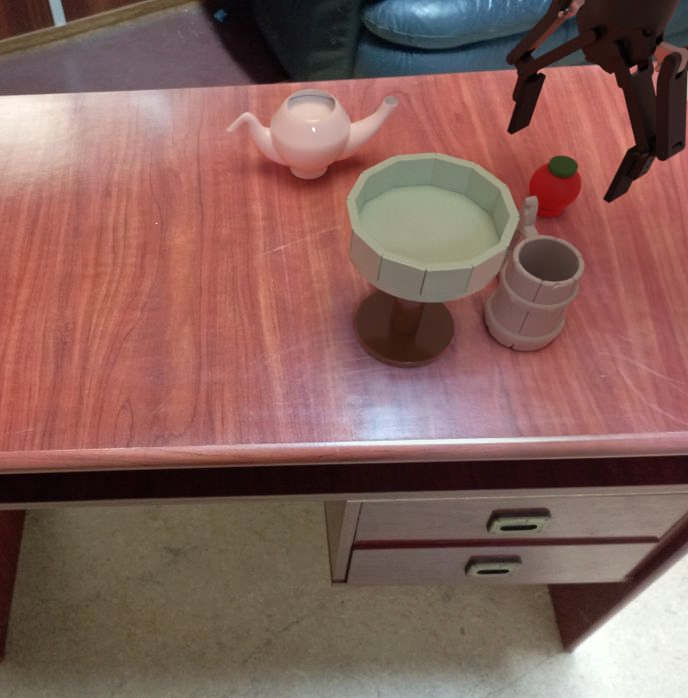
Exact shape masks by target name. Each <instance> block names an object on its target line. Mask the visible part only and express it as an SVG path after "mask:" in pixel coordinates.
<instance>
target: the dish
mask: <svg viewBox="0 0 688 698" xmlns="http://www.w3.org/2000/svg"><path fill="white" fill-rule="evenodd" d="M518 211H519V210H518V209H517V205H516V203H515V201H514V199H513V196H512V194H511V191H510V189H509V187H508V185H507V184H505V183H504V182H503V181H502V180H500V179H499V178H497V177H496V176H495V175H493V174H492V173H491V172H489V171H488V170H487V169H485V167H483V166H482V165H480V164H479V163H476V162H475V161H471V160H468V159H464V158H459V157H456V156H452V155H449V154H445V153H440V152H435V151H433V152H420V153H418V152H417V153H408V154H407V153H406V154H396V155H395V156H394V155H393V156H390V157H388V158H386V159H385V160H383V161H381V162H379V163H377V164H374V165H373V166H371V167H369V168H367V169H365V170H363V171H362V172H361V173H360V174H359V176H358V177H357V179H356V181H355V182H354V184H353V186H352V188H351V190H350V191H349V193H348V195H347V196H346V199H345V206H344V215H343V217H344V218H343V225H342V227H343V231H344V248H345V251H346V255H347V257H348V260H349V261H350V263H351V265H352V266H353V268H354V269H355V271H356V272H357V273H358V274H359V275H360V276H361V277H362V278H363V279H364V280H365V281H366V282H368V284H371V285H372V286H373V287H375V288H377V290H375V291H374V292H372V293H371V294H369V295H368V296H366V297H365V299H364V300H363V301H362V302H361V303H360V304H359V306H358V308H357V310H356V313H355V319H354V332H355V336H356V339H357V341H358V343H359V344H360V346H361V347H362V348H363V350H364V351H365V352H366V353H367V354H368V355H369V356H371V357H372V358H373V359H375V360H376V361H378V362H380V363H382V364H384V365H387V366H391V367H395V368H400V369H401V368H402V369H414V368H422V367H425V366H428V365H430V364H432V363H435V362H436V361H438V360H440V358H442V356H444V355H445V354H446V352H447V351H448V350H449V348H450V346H451V344H452V342H453V341H452V340H453V337H454V333H455V323H454V319H453V316H452V314H451V312H450V310H449V308H448V307H447V306H446V305H445V302H453V301H456V300H460V299H464V298H466V297H469V296H472V295H473V294H475V293H477V292H479V291H481V290H483V288H485V287H487V286H488V285H489V284H490V283H491V282H492V281H493V280H494V279H495V278H496V276H497V275H498V273H500V272H499V271H500V268H501V266H502V264H503V261H504V258H505V256H506V253H507V251H508V248H509V246H510V243H511V240H512V238H513V235H514V232H515V230H516V227H517V224H518V222H519V219H520V218H519V217H520V216H519V213H518Z"/></svg>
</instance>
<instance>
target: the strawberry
mask: <svg viewBox="0 0 688 698" xmlns="http://www.w3.org/2000/svg"><path fill="white" fill-rule="evenodd" d="M578 169H579V164H578V162H577V161H576V159H574V158H572V157H571V156H567V155H555V156H553V157H551V158H550V159H549V161H548V162H547V163H545V164H542V165H541V166H539V167H538V168H537V169H536V170H535V171H534V172H533V174H532V175H531V177H530V180H529V183H528V192H529V193H528V194H529V197H531V196H536V197H537V199H538V211H537V215H538V216H539V217H543V218H555V217H558V216H559V215H561V213H562V212H563V210H564V209H565V208H567V207H569V206H571V204H572V203H574V202H575V201H576V199H577V198H578V197H579V195H580V192H581V190H582V177H581V174H580V173H579V171H578Z"/></svg>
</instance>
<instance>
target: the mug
mask: <svg viewBox="0 0 688 698" xmlns="http://www.w3.org/2000/svg"><path fill="white" fill-rule="evenodd" d="M517 211H518V213H519V216H520V217H519V218H520V219H519V222H518V224H517V227H516V230H515V232H514V235H513V238H512V240H511V243H510V246H509V248H508V251H507V253H506V256H505V258H504V261H503V264H502V266H501V268H500V271H499V272H498V273H499V282H498V284H497V287H496V289H494V290H493V291H492V293H491V294H490V295H489V297H488V298H487V299H486V302H485V306H484V315H485V316H484V320H485V326H487V328H488V333H489V334H490V335H491V336H492V337H493V338H494V339H495V340H496V341H497V342H498V343H499V344H501V345H503V346H505V347H507V348H510V347H512V350H516V351H521V352H528V351H529V352H531V351H532V352H533V351H537V350H540V349H543V348H545V347H546V346H548V345H549V344H550V343H551V342H552V341H554V340H555V339H556V338H557V337H558V336H559V335H560V334H561V332H562V330H563V329H564V328H565V325H566V322H565V321H566V311H567V309H568V308H569V307H570V306H571V305H572V304H573V302H574V301H575V299H576V298H577V297H578V295H579V290H580V285H579V283H580V280H581V279H582V277H583V274H584V272H585V266H586V265H585V261H584V258H583V255H582V253H581V251H579V249H578V248H577V247H576V246H574V245H573V244H572V243H570V242H569V241H567V240H565V239H562V238H560V237H555V236H553V235H550V234H549V235H546V234H541V235H540V234H539V231H538V229H537V228H536V220H537V215H538V214H537V211H538V199H537V197H536V196H527V197H525V198H524V200H523V203H522V205H521V207H520V209H518V210H517ZM521 237H522V238H523V240H521V241H520V239H521Z"/></svg>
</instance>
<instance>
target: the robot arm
mask: <svg viewBox="0 0 688 698" xmlns="http://www.w3.org/2000/svg"><path fill="white" fill-rule="evenodd" d="M680 2H681V0H551V2H550V4H549V7H548V9H547V11H546V12H545V14H543V16H542V17H541V18H540V19H539V20H538V22H536V24H535V25H533V27H532V28H531V29H530V30H529V31H528V32H527V33H526V34H525V35H524V37H522V39H520V41H518V43H517V44H516V45H515V46H514V47H513V48H512V49H511V50H510V52H508V54H506V56H505V61H506V64H508V65H509V66H514V67H515V69H516V75H517V79H516V82H515V85H514V88H513V92H512V94H511V95H512V96H511V97H512V99H511V100H512V101H513V102H515V104H514V108H513V111H512V113H511V116H510V120H509V123H508V126H507V129H506V132H507V134H510V135H511V136H512V135H514V134H516V133H518V132H520V131H523V130H524V129H525V128H528V127H529V126H530V124H531V121H532V119H533V116H534V112H535V110H536V107H537V104H538V101H539V98H540V95H541V92H542V89H543V86H544V83H545V80H546V77H547V75H546V74H545V73H543V72H541V70H543V69H544V68H546V67H548V66H550V65H552V64H554V63H556V62H559V61H561V60H562V59H565V58H566V57H568V56H570V55H572V54H574V53H576V52H578V51H580V50H581V51H582V53H583V55H584V60H585V61H587V62H589V63H590V64H594V65H597V66H599V68H600V69H602V71H604V72H606V73H607V74H609V75H612V74H614V78H615V81H616V86H617V88H619V89H621V90H622V93H623V97H624V101H625V107H626V110H627V114H628V119H629V123H630V127H631V131H632V135H633V140H634V143H635V145H633V146H632V147H630V148H628V149H627V150H626V152H625V154H624V155H623V158H622V161H621V162H620V164H619V166H618V168H617V170H616V172H615V174H614V176H613V178H612V180H611V182H610V185H609V186H608V188H607V190H606V191H605V195H604V196H603V198H602V200H603V201H604V202H606V203H607V204H610V203H612V202H614V201H615V200H617V199H618V198H620V197H622V196H624V195H625V194H627V193H628V191H629V190H630V188H631V186H632V184H633V182H635V181H637V180H639V179H641V178H642V177H643V176H645V175H646V174H648V173H649V170H650V169H651V167H652V165H653V163H654V161H655V159H657V160H658V161H659V162H665V161H667V160H669V159H671V158H672V157H674V156H676V155H678V154H679V153H681V152H683V151H684V150H685V149H686V145H687V144H686V143H687V109H688V107H687V106H688V105H687V104H688V44H685V45H683V46H682V47H678V46H676V45H673V44H670V43H668V42H665V32H666V28H667V27H668V25H669V23H670V22H671V20H672V19H673V17H674V15H675V13H676V10H677V8H678V7H679V4H680ZM574 15H575V21H576V26H577V32H578V35H577V36H575V37H573V38H571V39H570V40H568V41H565V42H563V43H562V44H561V45H558V46H556V47H555V48H553V49H551V50H549V51H547V52H546V53H544V54H541V55H540V56H537V57H536V58H534V56H533V54H534V53H535V51H537V49H539V48H540V47H541V45H542V44H543V43H544V42H545V41H546V40H547V39H549V37H550V36H552V34H553V33H554V32H555V31H556V30H557V29H558V28H559V27H560V26H562V24H563V23H564V22H565V21H566V20H567V19H569V18H570V17H572V16H574ZM652 57H654V58H655V59H656V66H655V67H654V62H653V58H652ZM636 66H637V68H636V70H635V71H634V72H632V73H631V69H632V68H634V67H636ZM538 72H539V73H538ZM655 72H656V73H657V77H656V86H655V85H654V79H653V75H654V73H655Z"/></svg>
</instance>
